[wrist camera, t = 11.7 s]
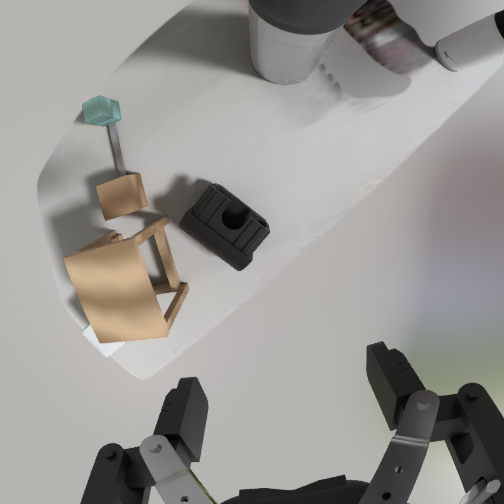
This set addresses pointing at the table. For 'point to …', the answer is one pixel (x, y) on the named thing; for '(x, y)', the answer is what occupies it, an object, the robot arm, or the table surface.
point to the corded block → (127, 186)
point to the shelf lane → (125, 286)
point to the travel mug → (473, 44)
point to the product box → (103, 347)
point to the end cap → (225, 226)
